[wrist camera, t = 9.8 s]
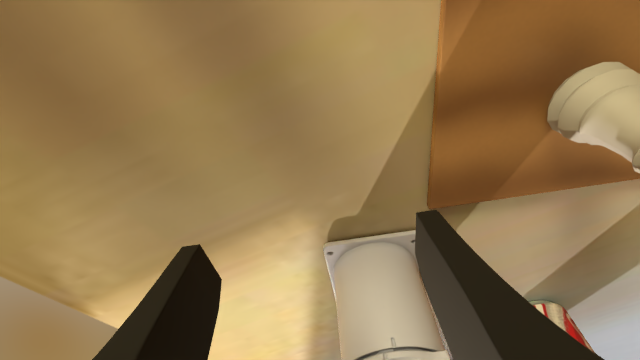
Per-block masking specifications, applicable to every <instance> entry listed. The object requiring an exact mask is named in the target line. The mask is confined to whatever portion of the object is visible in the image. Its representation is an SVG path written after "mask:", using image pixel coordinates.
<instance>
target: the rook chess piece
mask: <svg viewBox="0 0 640 360" xmlns="http://www.w3.org/2000/svg"><path fill="white" fill-rule="evenodd" d="M547 121H548V123H549V125H550V126H551V128H552V130H554V131H556V132H559V133H561V134H562V136H563V137H565V138H567V139H570V140H572V141H574V142H577V143H588V144H590V145H601V146H604V147H606V148H608V149H610V150H612V151H614V152H616V153H618V154H620V155H622V156H623V157H624V158H626V159H627V160H629V161H630V162H631V163H632V166H633V169H634V171H635V172H638V173H640V74H639V73H637V72H636V71H634V70H632V69H630V68H629V67H627V66H625V65H624V64H622V63H620V62H602V63H599V64H596V65H593V66H590V67H588V68H585V69H582V70H579V71H578V72H576V73H575V74H573V75H572V76H570V77H569V78H567V79H566V80H565V81H564V82H563V83H562V84H561V85H560V86H559V88H558V89H557V90H556V91H555V92H554V94H553V96H552V98H551V100H550V102H549V106H548V117H547Z"/></svg>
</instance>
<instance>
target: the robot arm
mask: <svg viewBox="0 0 640 360" xmlns="http://www.w3.org/2000/svg"><path fill="white" fill-rule="evenodd" d="M323 251H324V255H325V259H326V263H327V267H328V271H329V275H330V279H331V283H332V287H333V291H334V295H335V299H336V304H337V315H338V326H339V337H340V348H341V358H342V360H451V359H450V357H449V354H448V351H446V350H445V349H444V346H443V343H442V340H441V337H440V334H439V331H438V328H437V325H436V322H435V319H434V316H433V313H432V310H431V307H430V304H429V301H428V298H427V295H426V292H425V289H426V291H427V294H428V296H429V299H430V301H431V304H432V306H433V309H434V311H435V314H436V316H437V319H438V321H439V324H440V326H441V329H442V331H443V334H444V336H445V339H446V341H447V344H448V346H449V349H450V351H451V354H452V357H453V360H604V359H603V358H601V357H600V356H598V355H597V354H596V353H594V352H593V351H591V350H590V349H588V348H587V347H586V346H584V345H583V344H581V343H580V342H579V341H577V340H576V339H575V338H573V337H572V336H571V335H569V334H568V333H567V332H566V331H564V330H563V329H562V328H560V327H559V326H558V325H556V324H555V323H554V322H553V321H551V320H550V319H549V318H548V317H546V316H545V315H544V314H543V313H541V312H540V311H539V310H538V309H536V308H535V307H534V306H533V305H532V304H530V303H529V302H528V301H527V300H526V299H525V298H523V297H522V296H521V295H520V294H519V293H518V292H517V291H515V290H514V289H513V288H512V287H511V286H510V285H509V284H508V283H507V282H505V281H504V280H503V279H502V278H501V277H500V276H499V275H498V274H497V273H496V272H495V271H494V270H493V269H492V268H491V267H490V266H489V265H488V264H487V263H486V262H484V261H483V260H482V259H481V258H480V257H479V256H478V255H477V254H476V253H475V252H474V251H473V249H472V248H471V247H470V246H469V245H468V244H467V243H466V242H465V241H464V240H463V239H462V238H461V237H460V236H459V235H458V234H457V232H456V231H455V230H454V229H453V228H452V227H451V226H450V225H449V223H448V222H447V221H446V220H445V219H444V218H443V216H442V215H441V214H440V213H439V212H438V211H437V210H431V211H424V212H417V213H416V230H412V231H405V232H398V233H391V234H384V235H377V236H370V237H363V238H356V239H349V240H342V241H335V242H328V243H325V244H324V245H323ZM419 270H420V274H421V277H422V280H421V277H420V274H419ZM221 280H222V279H221V278H220V276H219V274H218V273H217V271H216V270H215V268H214V266H213V265H212V263H211V262H210V260H209V258H208V257H207V255H206V254H205V252H204V250H203V249H202V247H201V246H200V244H199V245H192V246H185V247H182V248H181V249H180V251H179V252H178V253H177V254H176V256H175V257H174V258H173V260H172V261H171V262H170V264H169V265H168V266H167V268H166V269H165V270H164V272H163V273H162V275H161V276H160V277H159V279H158V280H157V281H156V283H155V284H154V285H153V287H152V288H151V289H150V290H149V292H148V293H147V294H146V296H145V297H144V298H143V300H142V301H141V302H140V303H139V305H138V306H137V307H136V309H135V310H134V311H133V312H132V314H131V315H130V316H129V317H128V318H127V320H126V321H125V322H124V323H123V324H122V326H121V327H120V328H119V329H118V331H117V332H116V333H115V334H114V335H113V337H112V338H111V339H110V340H109V341H108V343H107V344H106V345H105V346H104V347H103V349H101V351H100V352H99V353H98V354H97V355H96V356H95V357H94V358H93V359H92V360H207V359H208V355H209V350H210V346H211V342H212V337H213V333H214V328H215V324H216V319H217V315H218V310H219V302H220V292H221ZM422 281H423V283H422ZM423 284H424V286H425V289H424V286H423Z"/></svg>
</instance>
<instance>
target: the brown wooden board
mask: <svg viewBox="0 0 640 360" xmlns="http://www.w3.org/2000/svg"><path fill="white" fill-rule="evenodd" d="M602 62H620V63H622V64H624V65H625V66H627V67H629V68H630V69H632V70H634V71H636V72H637V73H639V74H640V0H441V10H440V25H439V39H438V54H437V68H436V82H435V97H434V111H433V125H432V140H431V154H430V168H429V183H428V197H427V205H428V208H429V209H435V208H442V207H449V206H456V205H463V204H469V203H476V202H483V201H490V200H497V199H504V198H510V197H517V196H524V195H531V194H538V193H544V192H551V191H558V190H565V189H572V188H579V187H585V186H592V185H599V184H606V183H613V182H619V181H626V180H633V179H640V173H638V172H635V171H634V169H633V166H632V163H631V162H630V161H629V160H627V159H626V158H624V157H623V156H622V155H620V154H618V153H616V152H614V151H612V150H610V149H608V148H606V147H604V146H601V145H590V144H588V143H577V142H574V141H572V140H570V139H567V138H565V137H563V136H562V134H561V133H559V132H556V131H554V130H552V128H551V126H550V125H549V123H548V121H547V117H548V106H549V102H550V100H551V98H552V96H553V94H554V92H555V91H556V90H557V89H558V88H559V86H560V85H561V84H562V83H563V82H564V81H565V80H566V79H567V78H569V77H570V76H572V75H573V74H575V73H576V72H578V71H579V70H582V69H585V68H588V67H590V66H593V65H596V64H599V63H602Z"/></svg>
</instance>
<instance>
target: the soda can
mask: <svg viewBox="0 0 640 360" xmlns="http://www.w3.org/2000/svg"><path fill="white" fill-rule="evenodd" d="M529 303H530V304H532V305H533V306H534V307H535V308H536V309H538V310H539V311H540V312H541V313H543V314H544V315H545V316H546V317H548V318H549V319H550V320H551V321H553V322H554V323H555V324H556V325H558V326H559V327H560V328H562V329H563V330H564V331H566V332H567V333H568V334H569V335H571V336H572V337H573V338H575V339H576V340H577V341H579V342H580V343H581V344H583V345H584V346H586V347H587V348H588V349H590V350H591V351H593V349H592V348H591V346H590V345H589V343H588V342H587V340H586V339H585V338H584V336H583V335H582V333H581V332H580V330H579V329H578V327H577V326H576V324H575V323H574V321H573V320H572V319H571V317H570V316H569V314H568V313H567V311H566V310H565V309H564V308H563V307H562V306H561V305H559V304H555V303H552V302H550V301H546V300H537V301H531V302H529ZM593 352H594V351H593ZM594 353H595V352H594Z"/></svg>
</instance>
